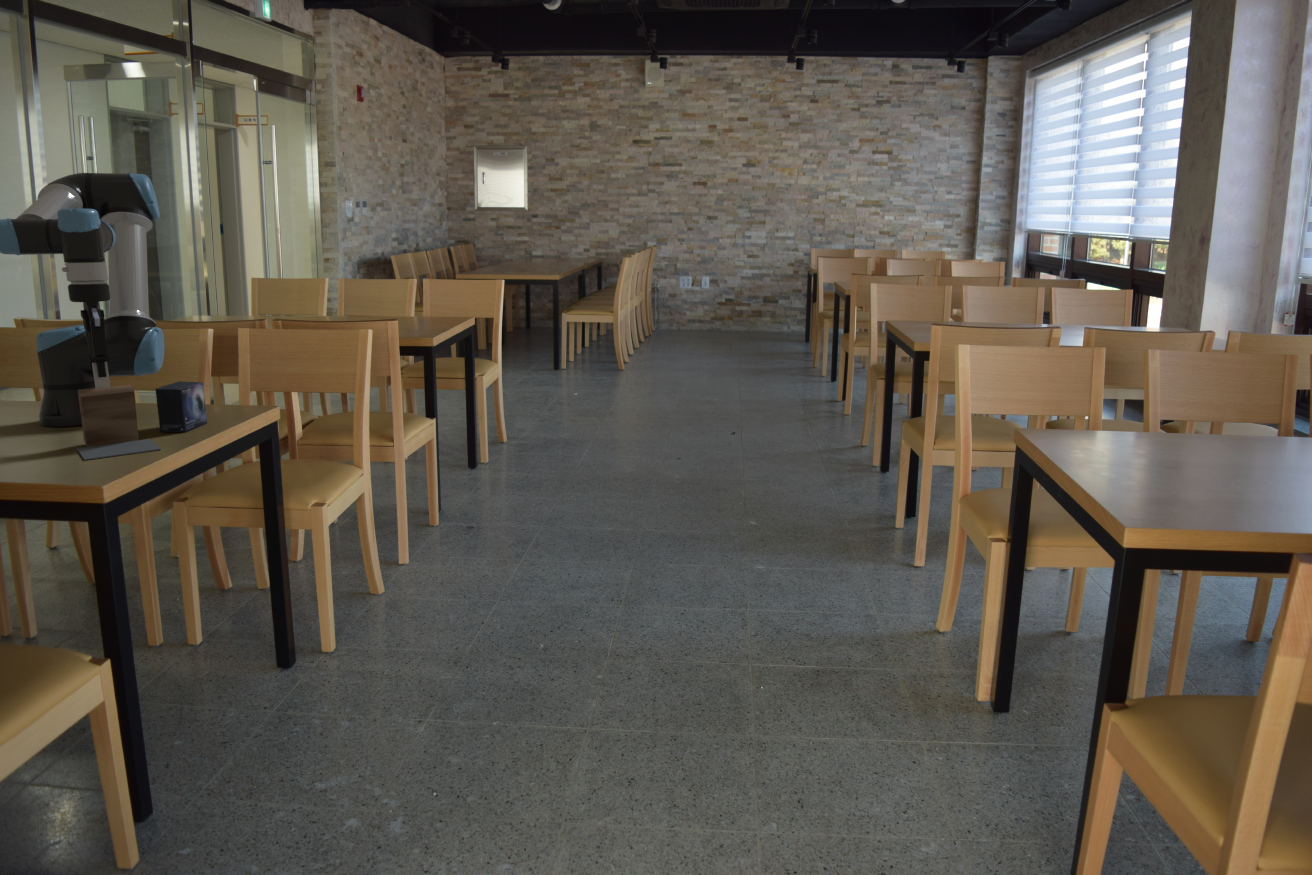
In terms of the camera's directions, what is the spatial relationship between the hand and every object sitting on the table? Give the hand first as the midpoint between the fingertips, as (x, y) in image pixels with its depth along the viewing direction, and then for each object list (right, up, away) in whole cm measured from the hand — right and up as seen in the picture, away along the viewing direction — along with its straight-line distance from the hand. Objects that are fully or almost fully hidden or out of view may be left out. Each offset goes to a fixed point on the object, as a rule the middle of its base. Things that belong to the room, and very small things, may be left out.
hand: (103, 391), depth 199 cm
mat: (+6, -13, -4) cm, 15 cm away
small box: (+9, -8, +17) cm, 21 cm away
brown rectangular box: (0, -11, +2) cm, 11 cm away
